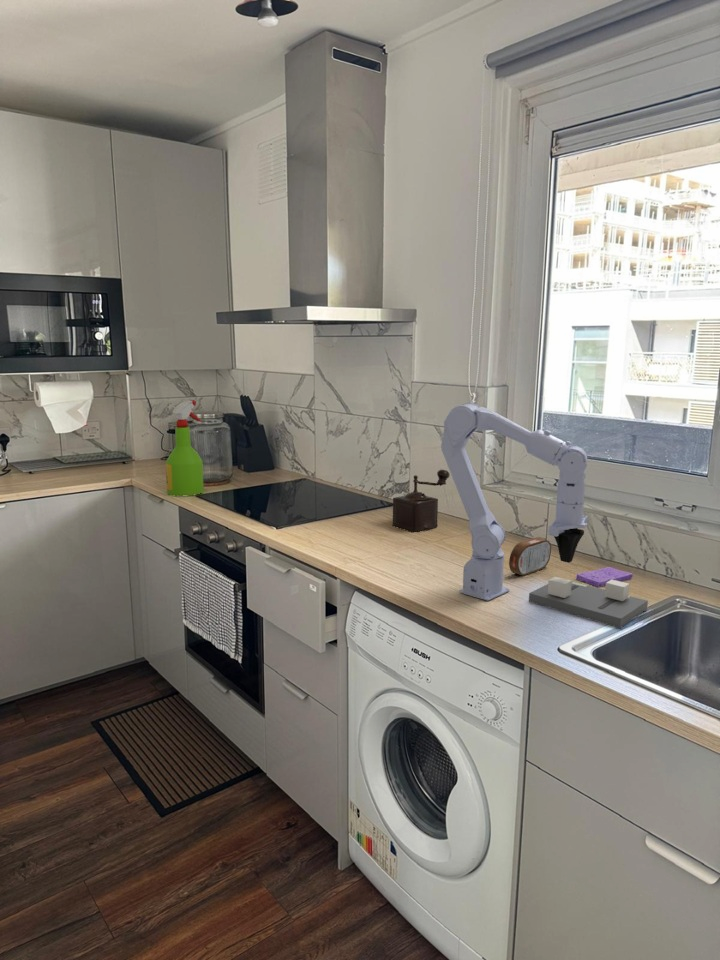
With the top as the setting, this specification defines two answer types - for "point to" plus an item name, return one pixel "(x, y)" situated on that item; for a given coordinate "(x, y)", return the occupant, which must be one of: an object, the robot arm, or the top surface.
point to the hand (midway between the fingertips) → (566, 561)
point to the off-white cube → (559, 587)
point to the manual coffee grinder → (417, 507)
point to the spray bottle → (184, 457)
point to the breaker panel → (591, 604)
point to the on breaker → (617, 590)
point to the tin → (530, 556)
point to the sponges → (603, 576)
